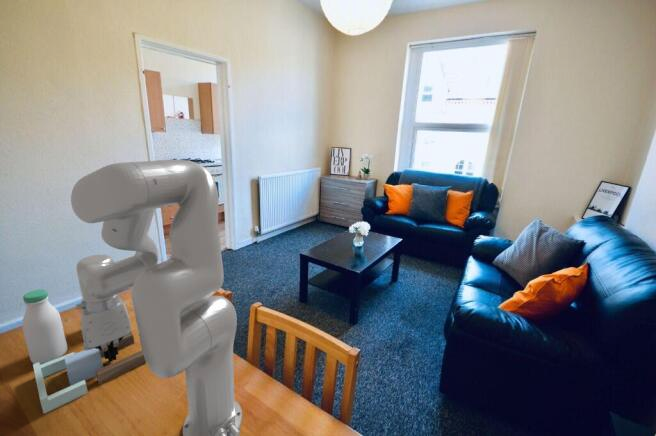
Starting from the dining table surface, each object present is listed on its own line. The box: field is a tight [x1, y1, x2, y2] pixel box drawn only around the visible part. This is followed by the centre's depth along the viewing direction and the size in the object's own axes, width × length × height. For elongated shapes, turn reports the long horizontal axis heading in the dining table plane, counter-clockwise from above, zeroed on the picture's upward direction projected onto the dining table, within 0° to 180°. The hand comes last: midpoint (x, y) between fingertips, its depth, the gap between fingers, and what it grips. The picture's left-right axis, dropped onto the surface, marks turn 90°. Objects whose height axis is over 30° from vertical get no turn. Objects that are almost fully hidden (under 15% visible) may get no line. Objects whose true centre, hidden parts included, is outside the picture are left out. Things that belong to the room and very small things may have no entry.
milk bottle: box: [21, 289, 68, 365], centre depth 81 cm, size 8×8×20 cm
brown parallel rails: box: [95, 332, 147, 385], centre depth 83 cm, size 13×11×3 cm
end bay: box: [32, 351, 89, 415], centre depth 74 cm, size 15×8×4 cm, turn 48°
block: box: [64, 348, 104, 386], centre depth 78 cm, size 7×7×4 cm
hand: (111, 358), depth 82 cm, fingers closed
